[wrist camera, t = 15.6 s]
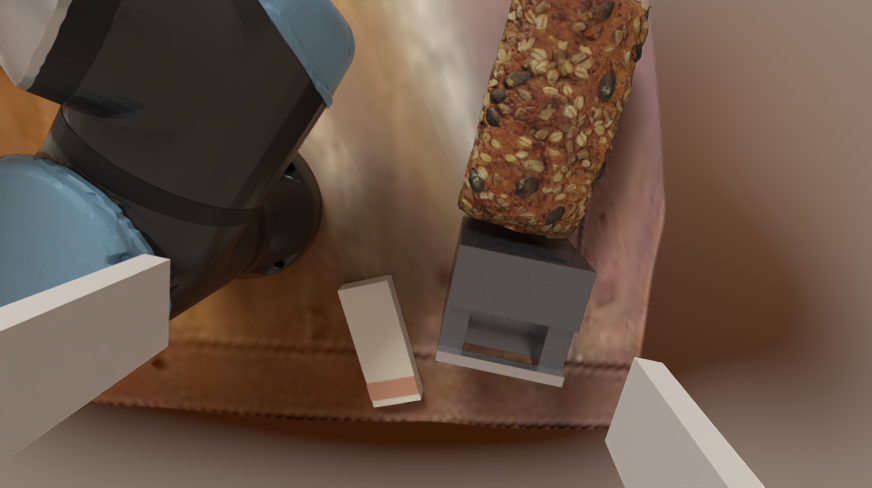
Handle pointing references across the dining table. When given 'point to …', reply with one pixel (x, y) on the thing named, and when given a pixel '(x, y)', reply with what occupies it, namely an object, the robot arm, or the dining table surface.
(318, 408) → the dining table surface
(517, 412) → the dining table surface
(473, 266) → the dispenser
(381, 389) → the ticket
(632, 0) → the bread
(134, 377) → the dining table surface
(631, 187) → the dining table surface
